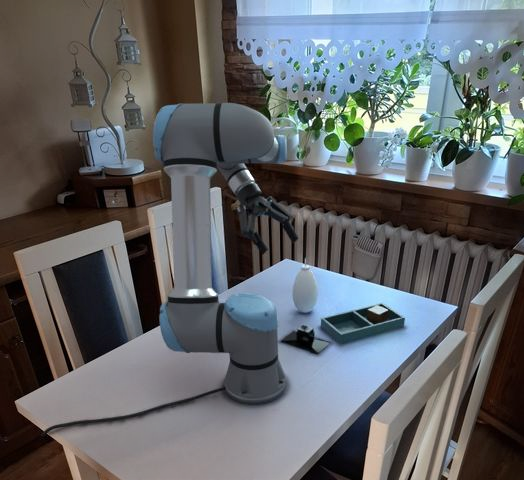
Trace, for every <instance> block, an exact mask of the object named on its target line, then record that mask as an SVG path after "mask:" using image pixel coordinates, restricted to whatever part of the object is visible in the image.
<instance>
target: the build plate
mask: <svg viewBox="0 0 524 480" xmlns="http://www.w3.org/2000/svg"><path fill="white" fill-rule="evenodd" d="M315 335H316V333H315V328H313V327H311V326H307V325H304V324H302V325H301V326H299V327H298V328H297V329H296V330H293V331H291V332H290V333H289V334H288V335H286V336H284V337H283V338H282V339H281V340H280V343H282V344H285V345H289V346H291V347H294V348H297V349H300V350H303V351H306V352H309V353H311V354H313V355H319V354H320V353H322V351H324V350H325V349H326V348H327V347H328V346H329V345H330V344H331V342H330V341H327V340H324V339H322V338H318V337H315Z"/></svg>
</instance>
